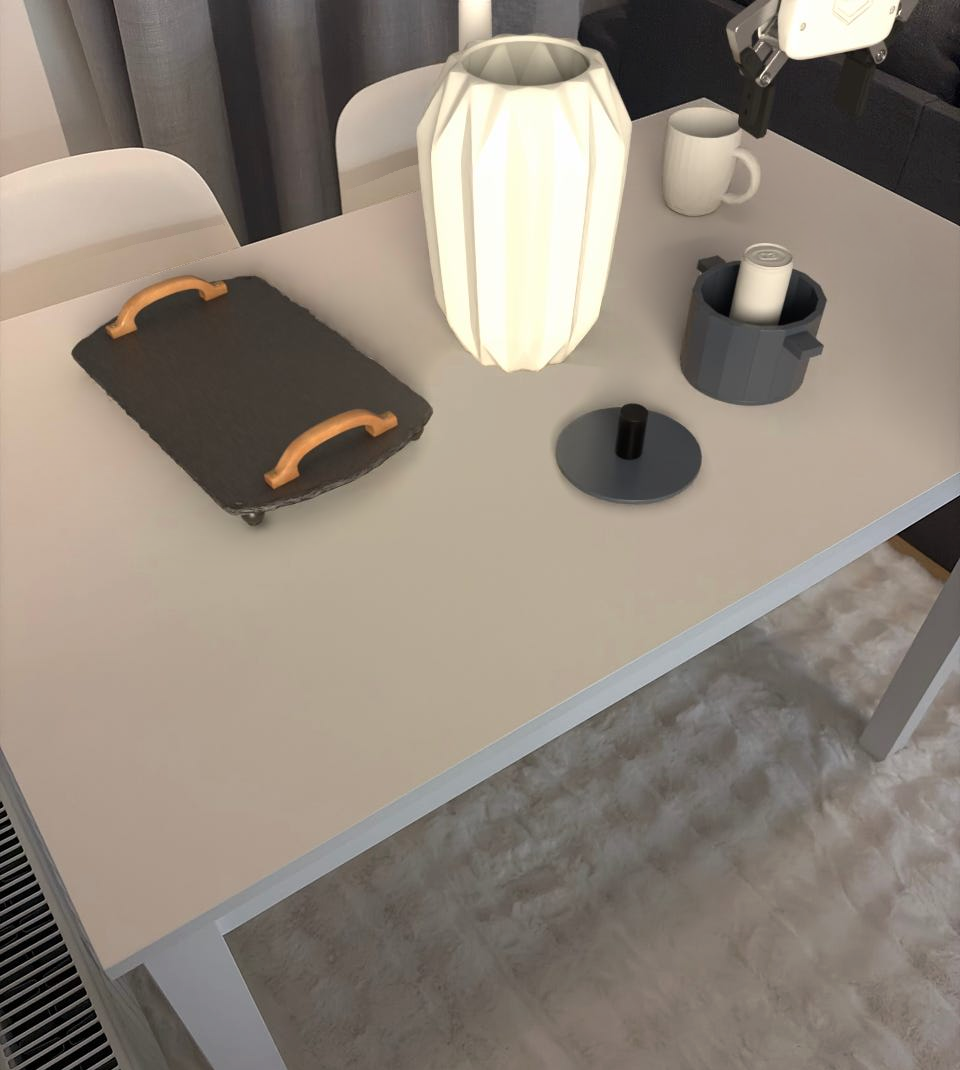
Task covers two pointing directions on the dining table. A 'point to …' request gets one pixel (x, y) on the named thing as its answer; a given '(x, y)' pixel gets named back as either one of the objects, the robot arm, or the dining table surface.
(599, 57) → the vase
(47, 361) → the dining table surface
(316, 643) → the dining table surface
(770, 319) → the beverage can
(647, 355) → the dining table surface
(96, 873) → the dining table surface
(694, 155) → the mug
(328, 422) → the serving tray
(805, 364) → the pot
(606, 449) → the lid
